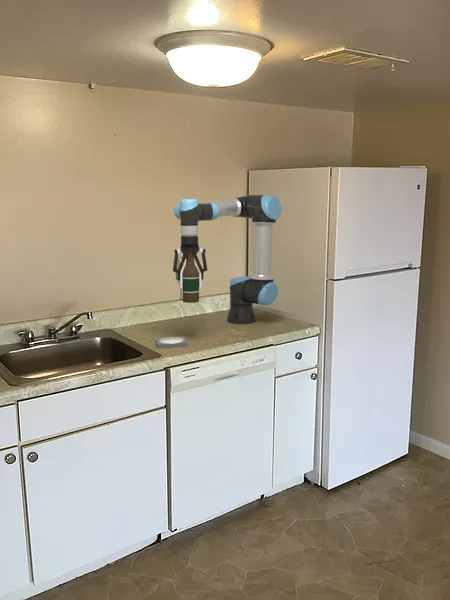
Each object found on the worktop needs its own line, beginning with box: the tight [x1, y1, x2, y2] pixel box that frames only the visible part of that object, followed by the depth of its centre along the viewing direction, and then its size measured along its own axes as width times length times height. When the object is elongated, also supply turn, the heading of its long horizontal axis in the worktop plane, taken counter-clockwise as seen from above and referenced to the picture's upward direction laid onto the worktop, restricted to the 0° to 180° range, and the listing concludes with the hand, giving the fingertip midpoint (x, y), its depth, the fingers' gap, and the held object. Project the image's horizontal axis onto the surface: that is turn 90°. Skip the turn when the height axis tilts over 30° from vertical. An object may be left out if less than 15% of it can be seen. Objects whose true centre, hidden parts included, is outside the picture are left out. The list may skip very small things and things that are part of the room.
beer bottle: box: [181, 247, 200, 304], centre depth 243 cm, size 8×8×24 cm
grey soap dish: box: [155, 336, 188, 349], centre depth 249 cm, size 13×11×2 cm
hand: (190, 287), depth 244 cm, fingers closed on beer bottle, 8 cm apart
